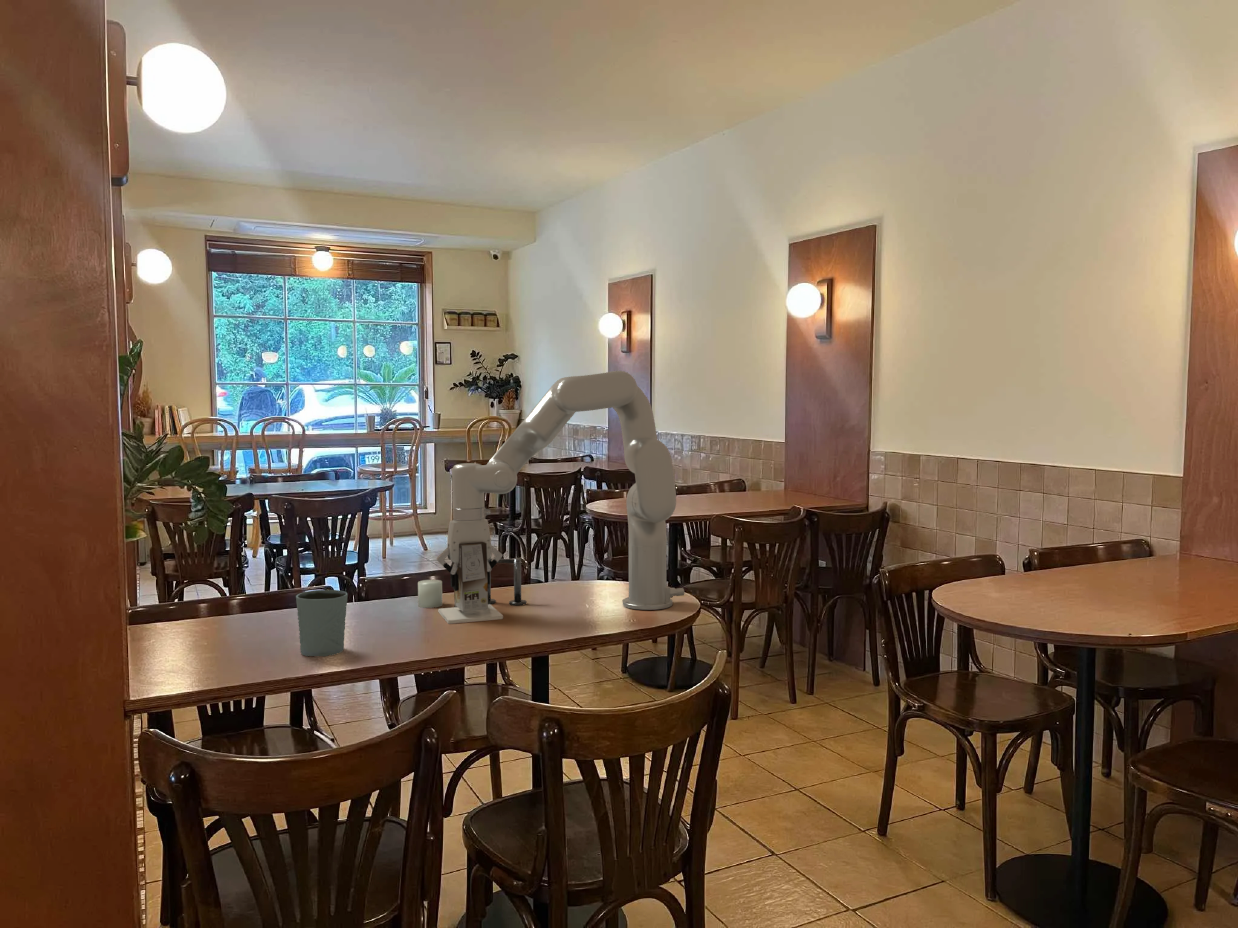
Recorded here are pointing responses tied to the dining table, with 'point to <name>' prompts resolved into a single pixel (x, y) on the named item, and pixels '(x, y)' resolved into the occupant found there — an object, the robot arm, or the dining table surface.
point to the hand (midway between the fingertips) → (470, 587)
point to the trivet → (469, 615)
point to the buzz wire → (517, 583)
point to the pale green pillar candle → (430, 593)
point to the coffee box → (472, 577)
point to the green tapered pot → (321, 621)
